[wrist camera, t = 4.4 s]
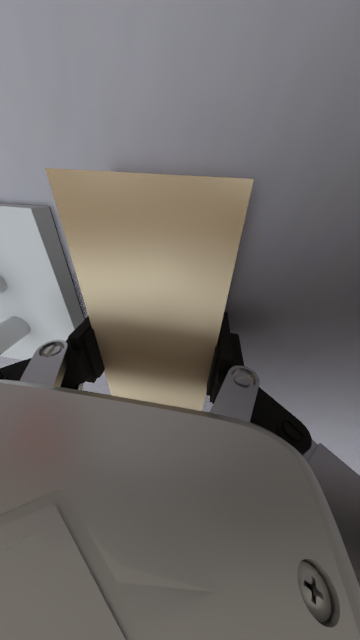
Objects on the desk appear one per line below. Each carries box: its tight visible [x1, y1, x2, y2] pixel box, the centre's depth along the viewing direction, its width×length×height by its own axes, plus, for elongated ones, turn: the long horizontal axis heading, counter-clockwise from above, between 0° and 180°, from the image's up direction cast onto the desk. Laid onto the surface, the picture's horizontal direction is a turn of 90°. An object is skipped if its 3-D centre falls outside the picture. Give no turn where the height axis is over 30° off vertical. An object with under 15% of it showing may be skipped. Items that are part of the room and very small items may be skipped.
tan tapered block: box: [45, 168, 254, 411], centre depth 11 cm, size 15×6×4 cm, turn 177°
